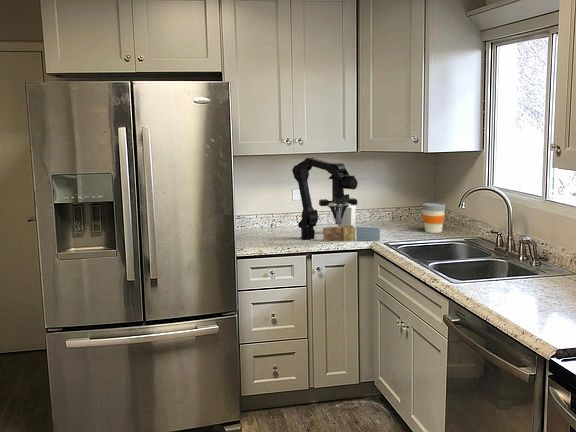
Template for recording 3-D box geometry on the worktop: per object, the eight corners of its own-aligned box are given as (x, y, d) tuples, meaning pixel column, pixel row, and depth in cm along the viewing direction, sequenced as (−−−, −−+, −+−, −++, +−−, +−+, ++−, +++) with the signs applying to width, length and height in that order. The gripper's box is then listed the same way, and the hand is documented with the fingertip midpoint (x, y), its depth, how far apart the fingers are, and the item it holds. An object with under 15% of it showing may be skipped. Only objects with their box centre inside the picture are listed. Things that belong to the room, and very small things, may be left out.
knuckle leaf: (324, 242, 319) (324, 228, 318) (322, 239, 325) (322, 226, 324) (355, 240, 321) (354, 227, 320) (352, 238, 327) (352, 225, 326)
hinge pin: (335, 224, 312) (335, 205, 310) (333, 223, 316) (333, 204, 314) (342, 224, 312) (342, 205, 311) (341, 223, 316) (341, 204, 315)
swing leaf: (356, 239, 322) (356, 227, 321) (356, 239, 323) (356, 226, 322) (379, 240, 318) (379, 227, 317) (379, 240, 319) (379, 227, 318)
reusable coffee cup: (440, 233, 333) (440, 206, 331) (418, 232, 340) (418, 205, 338) (448, 230, 344) (448, 203, 341) (426, 228, 351) (427, 202, 348)
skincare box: (337, 234, 339) (336, 206, 336) (342, 232, 345) (341, 205, 342) (351, 235, 335) (351, 207, 333) (356, 233, 341) (355, 205, 338)
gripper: (322, 190, 302) (322, 222, 305) (359, 189, 304) (360, 220, 307) (318, 188, 313) (319, 218, 316) (354, 187, 315) (355, 217, 318)
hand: (338, 219), depth 314 cm, fingers closed on hinge pin, 3 cm apart
